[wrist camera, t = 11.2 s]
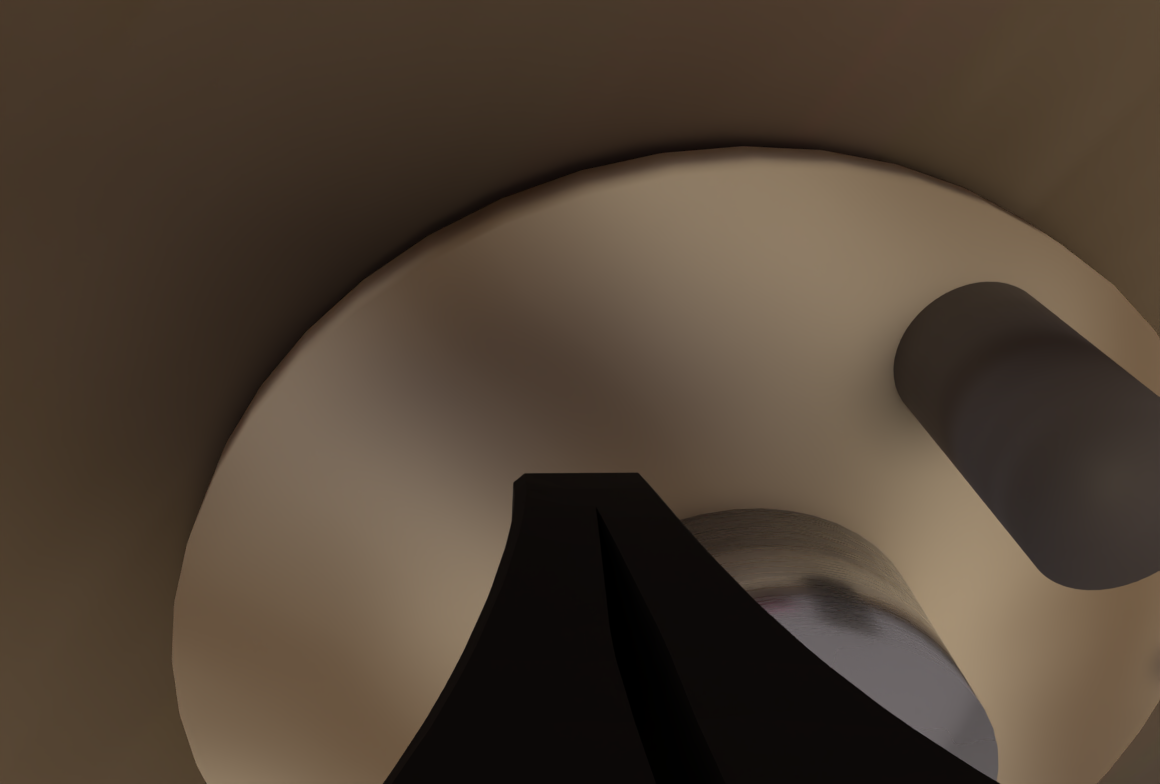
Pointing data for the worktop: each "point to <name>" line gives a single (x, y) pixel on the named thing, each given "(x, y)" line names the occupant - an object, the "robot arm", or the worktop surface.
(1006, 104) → the worktop surface
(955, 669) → the cover
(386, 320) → the turntable
